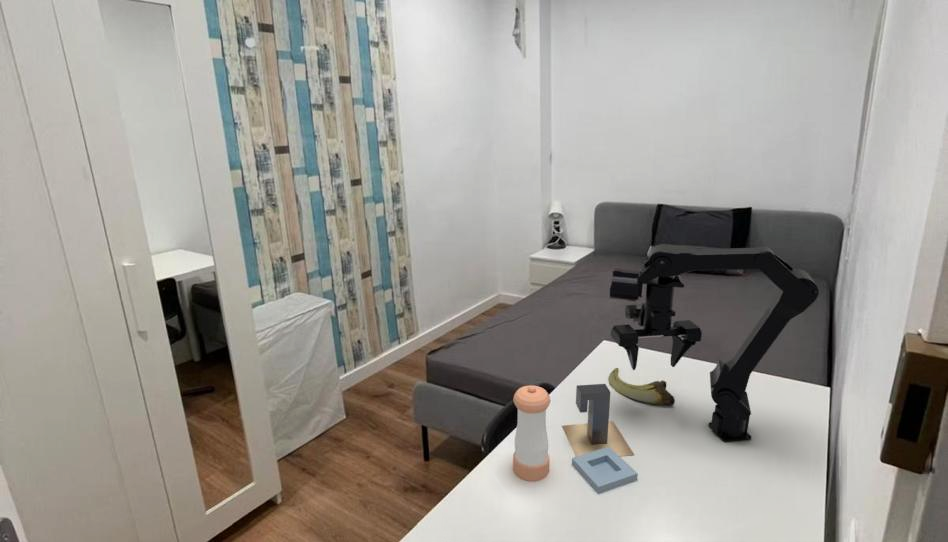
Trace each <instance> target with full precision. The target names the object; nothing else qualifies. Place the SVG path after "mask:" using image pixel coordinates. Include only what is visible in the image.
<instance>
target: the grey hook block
mask: <svg viewBox="0 0 948 542" xmlns="http://www.w3.org/2000/svg"><path fill="white" fill-rule="evenodd" d="M575 390H576V391H575V392H576V393H575V394H576V395H575V405H576V407H577V409H578V411H579V413H587V423H588V426H587V436H588V438H589V440H590V443H591V445H598V444H607V439H608V423H609V421H610V403H611V391H610V389H609V388H608V386H607V384H606V383H597V384H581V385H579V384H578V385H576V389H575Z"/></svg>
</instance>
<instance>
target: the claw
mask: <svg viewBox="0 0 948 542" xmlns="http://www.w3.org/2000/svg"><path fill="white" fill-rule="evenodd" d="M608 383H609V385H610V386H611V388H612V389H613V390H614V389H615V390H614V391H616V392H618V393H619V394H621V395H622V396H625V397H626V398H629V399H633V400H636V401H639V402H642V403H646V404H650V405H660V406H662V405H664V406H673V405H674V404H675V401H676V400H675V397H674V395H672V394H671V393H670V392H669V391H668V390H667V381H665V380H655V381H652V382H650V383H647V384H643V385H637V384H632V383H629V382H628V383H627V382H625V380H623V379H621V378H620V377H619V368H618V367H615V368H614V369H612V371H610V373H609V375H608Z"/></svg>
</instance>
